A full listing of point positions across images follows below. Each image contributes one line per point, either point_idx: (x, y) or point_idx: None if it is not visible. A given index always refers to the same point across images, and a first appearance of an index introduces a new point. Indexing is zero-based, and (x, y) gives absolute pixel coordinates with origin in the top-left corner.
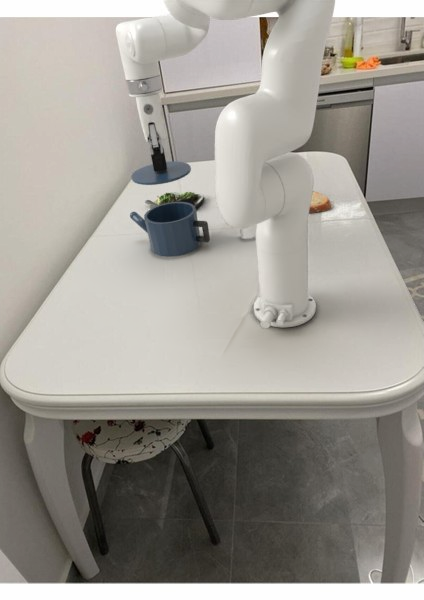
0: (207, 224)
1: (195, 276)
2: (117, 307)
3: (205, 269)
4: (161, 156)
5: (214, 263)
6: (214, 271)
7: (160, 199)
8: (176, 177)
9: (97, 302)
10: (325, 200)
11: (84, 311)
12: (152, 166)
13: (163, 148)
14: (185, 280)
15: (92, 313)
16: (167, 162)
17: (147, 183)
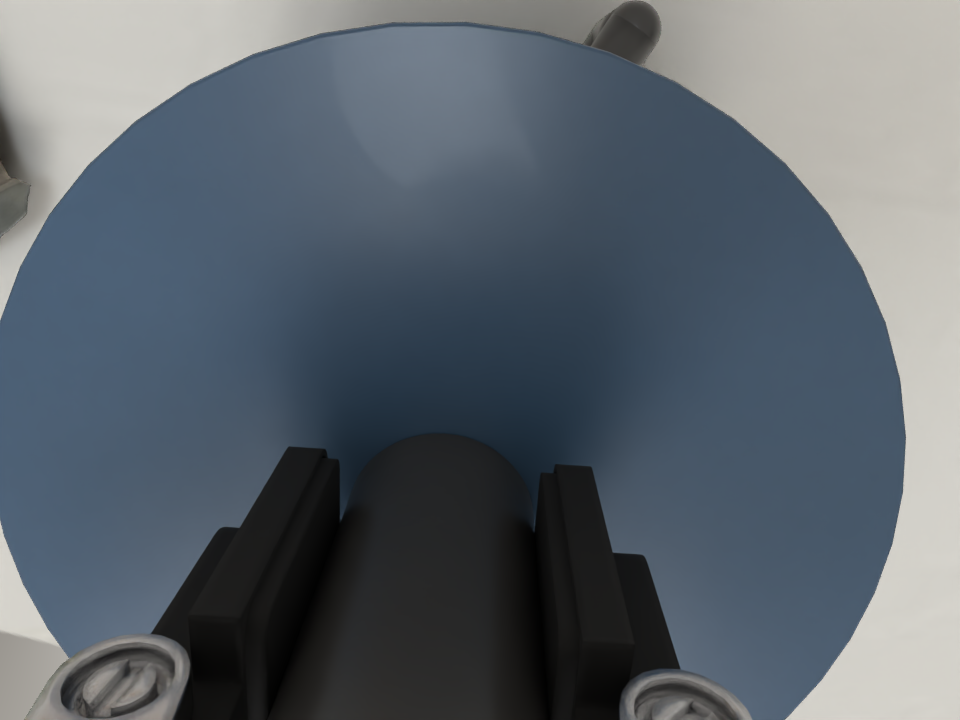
0: (652, 7)
1: (903, 193)
2: (957, 589)
3: (859, 118)
4: (646, 670)
5: (819, 45)
6: (915, 66)
7: None
8: (881, 341)
9: (860, 663)
10: None
11: (901, 709)
12: (140, 597)
13: (215, 618)
14: (912, 255)
15: (938, 681)
16: (37, 378)
17: (793, 701)
